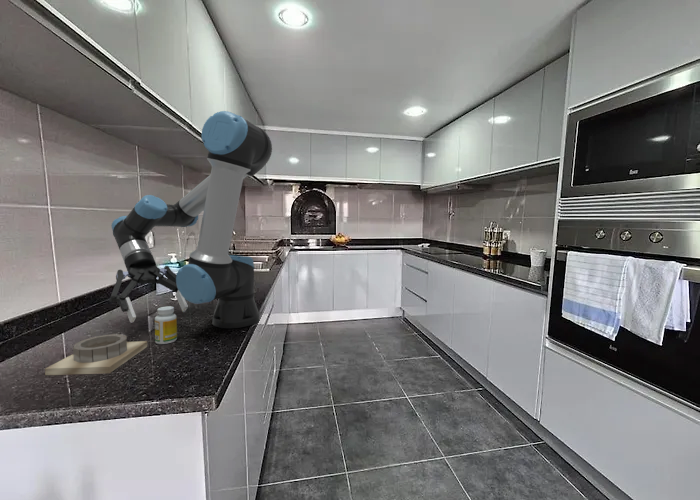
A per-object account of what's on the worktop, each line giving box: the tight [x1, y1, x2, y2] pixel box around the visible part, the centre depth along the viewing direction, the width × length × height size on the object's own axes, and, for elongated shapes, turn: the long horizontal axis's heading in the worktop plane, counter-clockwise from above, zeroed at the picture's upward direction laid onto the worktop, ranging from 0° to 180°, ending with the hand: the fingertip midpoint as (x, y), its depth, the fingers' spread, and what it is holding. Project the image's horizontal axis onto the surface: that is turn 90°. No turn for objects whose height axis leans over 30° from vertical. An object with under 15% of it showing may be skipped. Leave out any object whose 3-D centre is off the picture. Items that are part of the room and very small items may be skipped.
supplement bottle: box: [154, 305, 178, 345], centre depth 86 cm, size 5×5×10 cm
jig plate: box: [44, 333, 148, 376], centre depth 74 cm, size 13×15×4 cm
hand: (161, 314), depth 87 cm, fingers open, 13 cm apart
